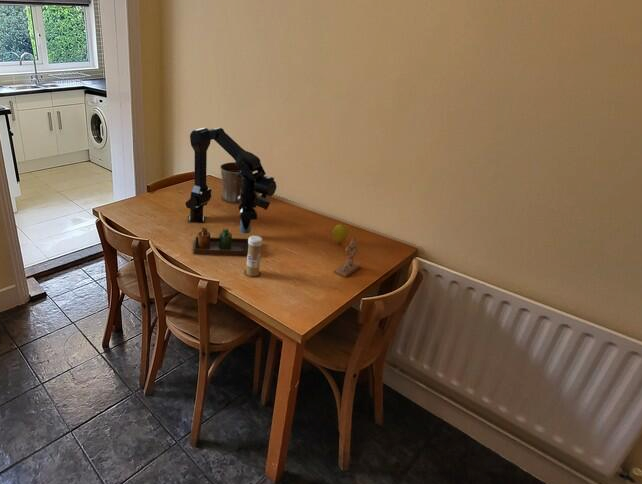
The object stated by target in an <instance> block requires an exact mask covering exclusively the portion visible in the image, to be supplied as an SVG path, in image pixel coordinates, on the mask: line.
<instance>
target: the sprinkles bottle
mask: <svg viewBox="0 0 642 484" xmlns="http://www.w3.org/2000/svg"><path fill="white" fill-rule="evenodd" d="M247 239H248V244H249V246H248V256H246V268H245V269H246V270H245V274H246V275H247V276H250V277H257V276H259V274H260V265H261V257H262V256H261V255H262V245H263V238H262V237H261V236H259V235H250V236H249V237H248V238H247Z"/></svg>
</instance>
